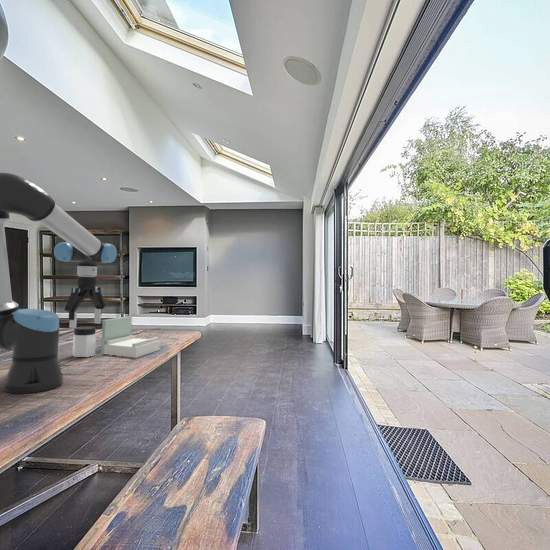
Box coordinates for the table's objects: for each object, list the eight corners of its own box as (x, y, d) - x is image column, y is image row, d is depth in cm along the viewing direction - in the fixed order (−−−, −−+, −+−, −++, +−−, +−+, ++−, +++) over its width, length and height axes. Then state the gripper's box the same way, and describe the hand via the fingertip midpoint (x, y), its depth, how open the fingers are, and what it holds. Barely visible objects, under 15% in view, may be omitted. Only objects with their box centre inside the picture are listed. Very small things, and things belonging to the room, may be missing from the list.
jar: (96, 356, 148) (97, 328, 148) (75, 359, 143) (76, 329, 143) (92, 352, 155) (93, 325, 155) (71, 354, 149) (72, 327, 150)
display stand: (135, 357, 148) (137, 322, 148) (101, 354, 152) (102, 320, 153) (159, 349, 166) (160, 318, 166) (127, 346, 170) (129, 316, 170)
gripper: (70, 276, 136) (69, 330, 136) (114, 276, 160) (113, 322, 160) (55, 276, 138) (53, 329, 138) (100, 276, 162) (99, 321, 162)
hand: (85, 325), depth 149 cm, fingers open, 13 cm apart
